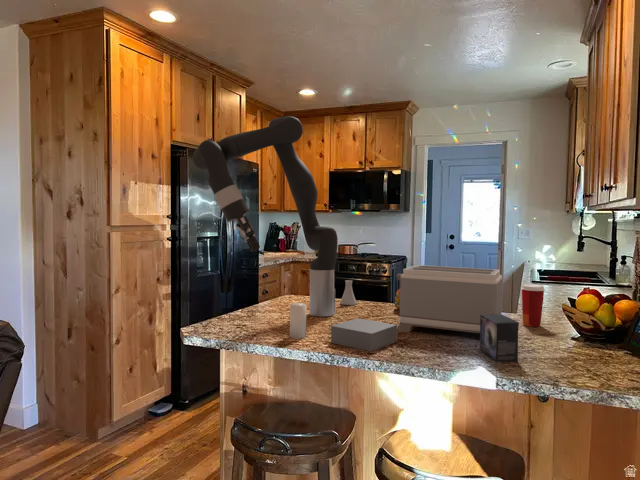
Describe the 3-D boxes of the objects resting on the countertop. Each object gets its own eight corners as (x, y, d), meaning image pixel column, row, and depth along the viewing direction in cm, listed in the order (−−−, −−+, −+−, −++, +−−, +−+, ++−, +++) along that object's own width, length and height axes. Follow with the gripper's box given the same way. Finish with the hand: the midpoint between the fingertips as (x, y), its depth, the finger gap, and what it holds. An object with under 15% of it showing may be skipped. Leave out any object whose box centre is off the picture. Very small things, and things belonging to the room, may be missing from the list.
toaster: (403, 319, 173) (404, 263, 172) (503, 330, 158) (505, 269, 157) (386, 330, 156) (388, 268, 155) (497, 343, 141) (499, 275, 140)
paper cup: (546, 325, 166) (548, 285, 165) (539, 328, 160) (540, 287, 160) (523, 321, 171) (525, 283, 171) (515, 325, 166) (517, 285, 165)
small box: (477, 350, 133) (478, 313, 132) (500, 350, 133) (501, 313, 133) (494, 362, 122) (495, 321, 122) (518, 361, 123) (520, 321, 122)
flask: (355, 306, 198) (356, 282, 197) (338, 305, 199) (338, 281, 198) (357, 303, 205) (358, 280, 204) (341, 302, 206) (341, 279, 206)
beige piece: (296, 333, 149) (297, 302, 149) (309, 336, 146) (309, 304, 145) (286, 336, 145) (286, 304, 145) (298, 339, 142) (299, 306, 142)
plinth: (357, 333, 150) (357, 318, 150) (396, 341, 141) (396, 324, 141) (330, 342, 139) (331, 325, 139) (371, 351, 130) (371, 333, 130)
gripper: (244, 194, 139) (269, 243, 140) (241, 201, 153) (264, 245, 154) (220, 205, 138) (246, 254, 138) (220, 211, 151) (243, 256, 152)
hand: (256, 249), depth 146 cm, fingers open, 8 cm apart
